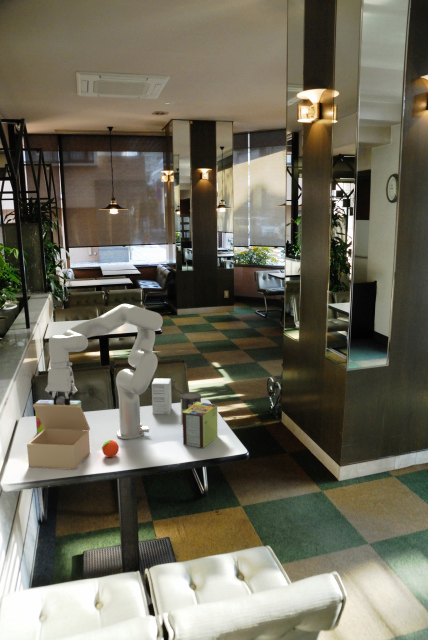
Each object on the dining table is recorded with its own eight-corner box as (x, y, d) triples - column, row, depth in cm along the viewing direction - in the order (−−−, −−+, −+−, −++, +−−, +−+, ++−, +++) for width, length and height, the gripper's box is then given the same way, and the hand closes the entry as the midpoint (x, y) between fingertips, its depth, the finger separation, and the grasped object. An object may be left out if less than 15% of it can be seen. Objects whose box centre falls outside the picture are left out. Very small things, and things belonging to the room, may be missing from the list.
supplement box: (154, 407, 276) (154, 377, 273) (171, 407, 276) (171, 378, 273) (152, 414, 266) (151, 383, 263) (169, 414, 266) (169, 383, 263)
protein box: (217, 435, 238) (217, 404, 236) (203, 448, 225) (203, 415, 222) (197, 432, 243) (197, 401, 240) (182, 444, 229) (181, 412, 226)
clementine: (106, 462, 212) (106, 446, 211) (97, 457, 217) (96, 441, 216) (122, 456, 218) (121, 440, 217) (112, 451, 223) (112, 435, 222)
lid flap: (89, 430, 220) (93, 418, 225) (79, 407, 209) (84, 395, 214) (44, 428, 223) (49, 416, 227) (32, 405, 212) (38, 393, 216)
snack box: (83, 429, 247) (81, 400, 244) (79, 434, 241) (77, 404, 239) (41, 428, 249) (39, 399, 246) (36, 433, 244) (33, 403, 241)
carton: (89, 452, 222) (88, 430, 220) (75, 469, 206) (74, 446, 204) (46, 450, 224) (44, 428, 223) (28, 467, 209) (27, 444, 207)
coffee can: (205, 423, 253) (204, 396, 251) (186, 427, 248) (186, 400, 246) (195, 417, 262) (194, 390, 260) (177, 421, 257) (176, 394, 254)
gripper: (82, 363, 216) (84, 404, 219) (44, 361, 218) (47, 402, 221) (75, 367, 209) (77, 410, 212) (36, 366, 210) (39, 408, 214)
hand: (62, 406), depth 216 cm, fingers closed on lid flap, 4 cm apart
